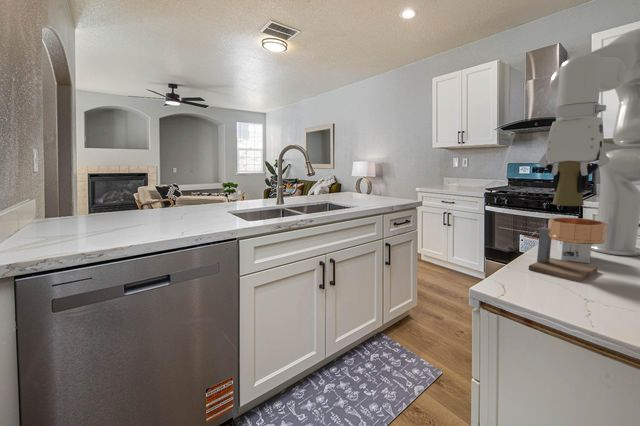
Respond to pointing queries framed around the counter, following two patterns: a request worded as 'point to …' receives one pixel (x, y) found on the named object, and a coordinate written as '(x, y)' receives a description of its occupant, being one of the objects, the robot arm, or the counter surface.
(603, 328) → the counter surface
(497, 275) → the counter surface
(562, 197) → the cork
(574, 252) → the light bulb box
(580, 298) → the counter surface
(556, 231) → the cup bracket
